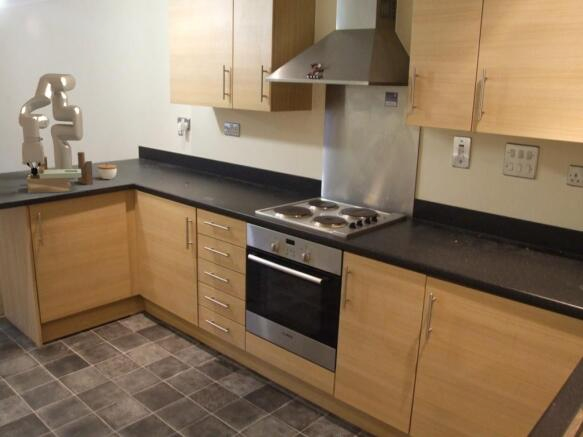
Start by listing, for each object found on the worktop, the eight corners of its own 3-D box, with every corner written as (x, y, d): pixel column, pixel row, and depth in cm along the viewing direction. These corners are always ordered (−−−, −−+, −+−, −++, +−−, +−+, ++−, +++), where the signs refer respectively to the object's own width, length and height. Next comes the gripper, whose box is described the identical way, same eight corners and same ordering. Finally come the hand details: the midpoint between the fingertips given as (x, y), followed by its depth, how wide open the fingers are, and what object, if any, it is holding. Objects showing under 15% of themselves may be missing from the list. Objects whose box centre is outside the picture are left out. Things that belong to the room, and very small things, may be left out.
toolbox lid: (40, 174, 281) (40, 166, 280) (81, 173, 289) (80, 165, 288) (39, 178, 271) (39, 170, 269) (81, 177, 278) (81, 169, 277)
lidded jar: (102, 181, 311) (101, 165, 308) (95, 178, 318) (94, 162, 316) (120, 179, 318) (119, 163, 315) (112, 176, 325) (112, 161, 323)
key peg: (40, 185, 292) (38, 156, 288) (48, 185, 294) (46, 156, 289) (40, 187, 288) (38, 157, 284) (48, 186, 290) (46, 157, 286)
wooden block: (87, 186, 294) (85, 154, 289) (77, 183, 301) (76, 152, 296) (93, 186, 297) (91, 154, 292) (84, 182, 304) (82, 151, 299)
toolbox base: (29, 189, 281) (28, 174, 279) (70, 188, 289) (69, 173, 287) (28, 194, 270) (27, 179, 268) (70, 192, 278) (69, 177, 276)
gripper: (48, 139, 276) (50, 173, 281) (16, 139, 271) (19, 174, 275) (47, 140, 270) (50, 176, 274) (14, 141, 264) (18, 177, 269)
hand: (34, 175), depth 275 cm, fingers closed
